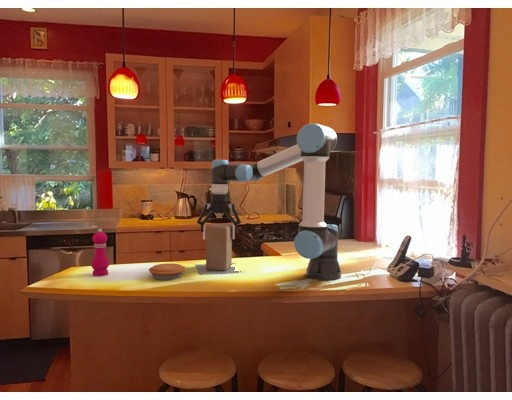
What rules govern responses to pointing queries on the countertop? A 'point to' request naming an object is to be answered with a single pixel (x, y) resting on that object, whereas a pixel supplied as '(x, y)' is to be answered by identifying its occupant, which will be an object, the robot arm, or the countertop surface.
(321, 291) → the countertop surface
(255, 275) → the countertop surface
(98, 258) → the pepper mill
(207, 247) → the block
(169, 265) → the pie
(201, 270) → the board
